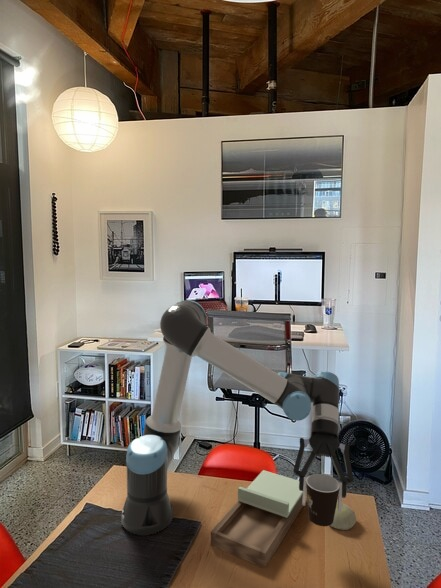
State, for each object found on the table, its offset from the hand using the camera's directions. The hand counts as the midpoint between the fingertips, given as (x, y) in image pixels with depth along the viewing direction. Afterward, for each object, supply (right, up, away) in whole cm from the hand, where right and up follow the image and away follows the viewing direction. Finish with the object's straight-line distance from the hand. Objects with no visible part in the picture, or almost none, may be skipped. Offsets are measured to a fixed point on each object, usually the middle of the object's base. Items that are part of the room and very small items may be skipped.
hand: (321, 507), depth 107 cm
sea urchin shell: (+9, -13, +16) cm, 22 cm away
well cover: (-9, -7, +23) cm, 26 cm away
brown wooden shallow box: (-15, -12, +14) cm, 24 cm away
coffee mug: (+1, -4, +4) cm, 6 cm away
